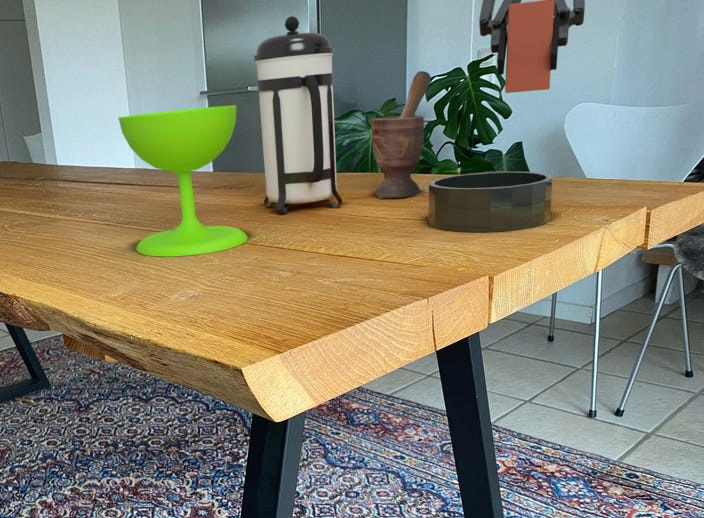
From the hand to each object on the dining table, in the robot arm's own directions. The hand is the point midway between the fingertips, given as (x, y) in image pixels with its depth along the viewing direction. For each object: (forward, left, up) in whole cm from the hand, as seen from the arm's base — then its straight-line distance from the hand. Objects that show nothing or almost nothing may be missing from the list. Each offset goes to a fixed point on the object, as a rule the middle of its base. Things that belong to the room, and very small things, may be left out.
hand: (526, 64), depth 98 cm
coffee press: (+33, -12, -20) cm, 41 cm away
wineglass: (+44, +15, -20) cm, 51 cm away
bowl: (+4, +6, -19) cm, 21 cm away
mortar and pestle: (+18, -22, -20) cm, 35 cm away
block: (0, -4, -3) cm, 5 cm away
